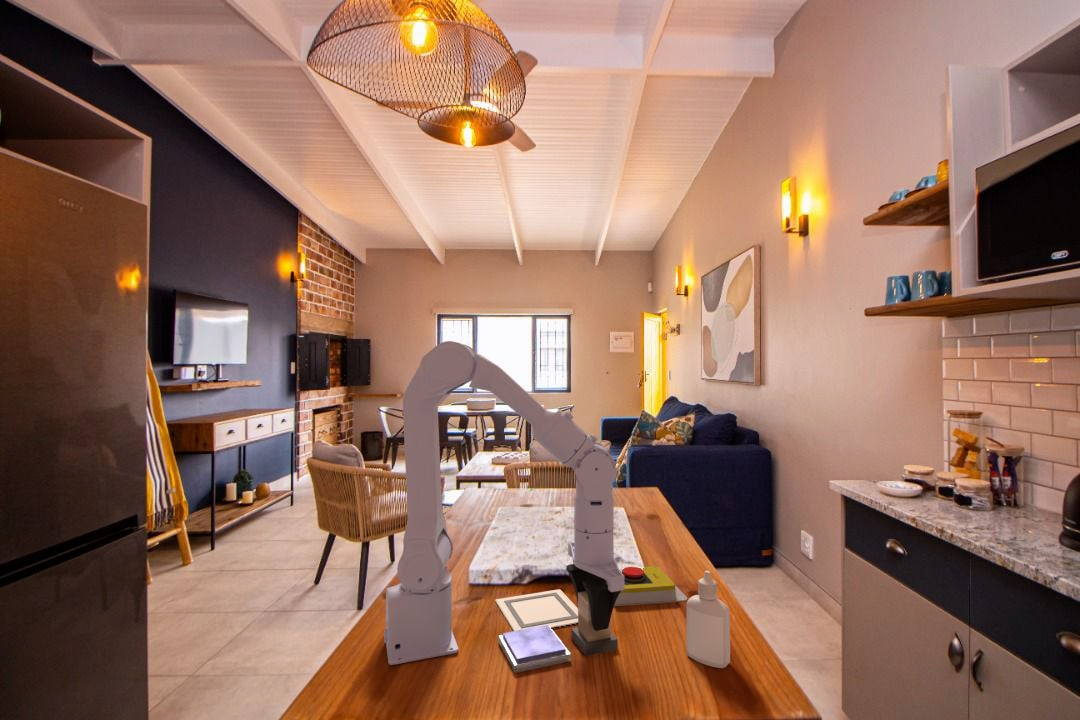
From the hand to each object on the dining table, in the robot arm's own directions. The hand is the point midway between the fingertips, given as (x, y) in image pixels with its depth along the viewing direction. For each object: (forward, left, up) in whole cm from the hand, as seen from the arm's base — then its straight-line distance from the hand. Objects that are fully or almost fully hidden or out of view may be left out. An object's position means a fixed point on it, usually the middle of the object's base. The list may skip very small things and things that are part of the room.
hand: (593, 621), depth 75 cm
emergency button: (+15, +13, -4) cm, 20 cm away
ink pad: (-9, +1, -3) cm, 10 cm away
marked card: (-4, +12, -3) cm, 13 cm away
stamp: (0, 0, -3) cm, 3 cm away
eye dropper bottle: (+13, -9, -3) cm, 16 cm away
